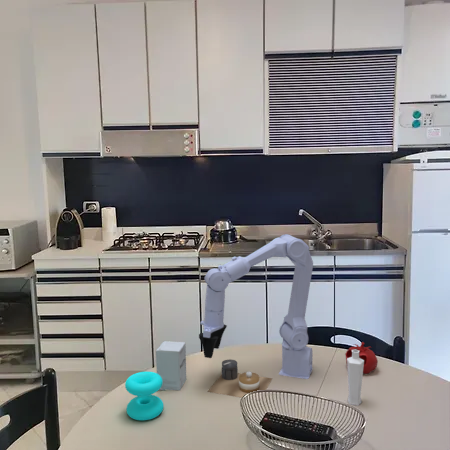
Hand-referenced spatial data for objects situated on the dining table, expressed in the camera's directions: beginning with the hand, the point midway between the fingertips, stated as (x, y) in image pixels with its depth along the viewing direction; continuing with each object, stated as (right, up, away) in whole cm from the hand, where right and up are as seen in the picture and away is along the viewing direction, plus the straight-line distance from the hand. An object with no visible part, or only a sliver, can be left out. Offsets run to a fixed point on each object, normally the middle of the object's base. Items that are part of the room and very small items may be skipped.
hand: (211, 352), depth 141 cm
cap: (+6, -9, +5) cm, 11 cm away
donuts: (-18, -13, -14) cm, 26 cm away
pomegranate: (+48, -8, +9) cm, 49 cm away
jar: (+11, -10, -3) cm, 15 cm away
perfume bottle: (+40, -11, -10) cm, 43 cm away
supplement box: (-12, -11, +1) cm, 16 cm away
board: (+9, -10, -1) cm, 13 cm away
